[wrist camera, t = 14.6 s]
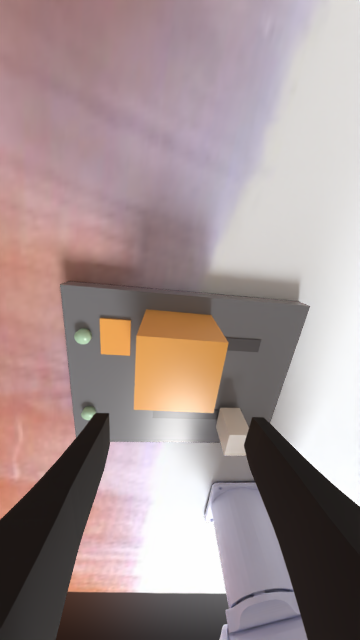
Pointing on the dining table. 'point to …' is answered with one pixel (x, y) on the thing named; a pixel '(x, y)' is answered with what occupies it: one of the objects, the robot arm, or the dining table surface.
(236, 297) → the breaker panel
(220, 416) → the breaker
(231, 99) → the dining table surface
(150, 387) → the cap
